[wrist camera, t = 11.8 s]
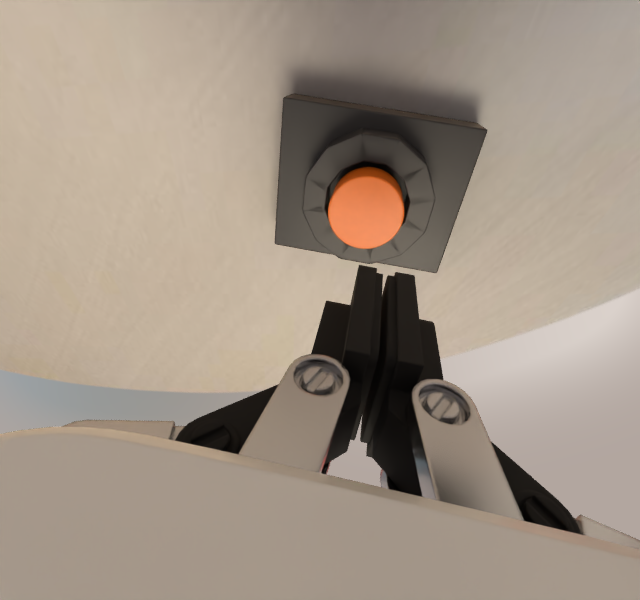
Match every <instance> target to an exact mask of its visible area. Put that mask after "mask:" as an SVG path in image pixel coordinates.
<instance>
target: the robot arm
mask: <svg viewBox="0 0 640 600" xmlns="http://www.w3.org/2000/svg"><path fill="white" fill-rule="evenodd" d="M376 272H377V268H372V267H367V266H362V265H359V268H358V272H357V277H356V281H355V286H354V291H353V296H352V300H351V305H346V304H341V303H336V302H331V301H326V303H325V307H324V310H323V314H322V318H321V321H320V325H319V328H318V332H317V335H316V339H315V343H314V346H313V350H312V353H311V354H309V355H305V356H301V357H299V358H298V359H296V360H294V361H293V363H292V364H291V365H290V366H289V368H288V369H287V371H286V373H285V375H284V376H283V378H282V380H281V381H280V383H279V384H278V385H276V386H273V387H271V388H269V389H266V390H264V391H262V392H259V393H257V394H254V395H252V396H250V397H247V398H245V399H243V400H240V401H238V402H235V403H233V404H231V405H228V406H226V407H224V408H221V409H219V410H216V411H214V412H212V413H209V414H207V415H204V416H202V417H200V418H197V419H196V420H194V421H192V422H191V423H189V424H187V426H175V422H174V421H129V420H128V421H127V420H126V421H125V420H82V421H74V422H72V423H69V424H67V425H64V426H62V427H46V428H36V429H28V430H19V431H13V432H8V433H3V434H0V600H640V540H638V539H636V538H633V537H631V536H629V535H626V534H624V533H622V532H619V531H617V530H615V529H612V528H610V527H608V526H605V525H603V524H601V523H598V522H596V521H594V520H592V519H589V518H587V517H585V516H582V515H579V516H578V517H577V518H576V519H575V518H573V517H572V515H571V514H570V512H569V511H568V510H567V509H566V508H565V507H564V506H563V505H562V504H561V503H560V502H559V501H558V500H557V499H556V498H555V497H554V496H553V495H552V494H550V493H549V492H548V491H547V490H546V489H545V488H544V487H542V486H541V485H540V484H539V483H538V482H537V481H536V480H534V479H533V478H532V477H531V476H530V475H529V474H527V473H526V472H525V471H524V470H523V469H522V468H521V467H520V466H518V465H517V464H516V463H515V462H514V461H513V460H512V459H510V458H509V457H508V456H507V455H506V454H505V453H504V452H502V451H501V450H500V449H499V448H498V447H497V446H496V445H494V444H493V443H492V442H491V441H490V439H489V436H488V434H487V431H486V429H485V427H484V424H483V422H482V420H481V417H480V415H479V413H478V410H477V408H476V406H475V404H474V402H473V401H472V399H471V398H470V397H469V396H468V395H467V394H466V393H465V392H464V391H463V390H462V389H460V388H459V387H457V386H456V385H454V384H452V383H449V382H447V381H444V380H443V374H442V368H441V362H440V356H439V350H438V344H437V338H436V331H435V326H434V323H433V322H431V321H426V320H421V319H419V314H418V304H417V295H416V285H415V277H414V275H409V274H404V273H398V272H396V273H395V275H394V276H389V275H388V276H387V280H386V283H385V287H384V291H383V294H382V281H383V274H379V273H376ZM361 417H362V425H361V438H360V440H361V442H364V443H367V456H368V457H372V458H373V459H374V460H375V461H376V462H377V463H378V465H379V466H380V467H381V468H382V470H381V474H380V482H381V487H378V486H373V485H369V484H365V483H360V482H356V481H352V480H347V479H343V478H339V477H335V476H330V475H327V472H328V469H329V466H330V462H331V461H332V460H333V459H335V458H337V457H338V456H340V455H342V454H343V453H345V452H346V451H347V449H348V446H349V442H350V439H351V440H354V439H355V437H356V434H357V430H358V427H359V424H360V420H361Z"/></svg>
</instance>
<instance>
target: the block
mask: <svg viewBox="0 0 640 600" xmlns="http://www.w3.org/2000/svg"><path fill="white" fill-rule="evenodd" d="M486 133H487V129H485V128H484V127H482V126H481V125H479V124H478V123H474V122H468V121H462V120H456V119H449V118H443V117H437V116H430V115H424V114H418V113H412V112H405V111H399V110H393V109H386V108H380V107H374V106H368V105H361V104H355V103H349V102H342V101H336V100H330V99H324V98H317V97H311V96H305V95H298V94H291V95H289V96H286V97H284V98H283V112H282V129H281V145H280V162H279V179H278V195H277V212H276V229H275V244H277V245H283V246H289V247H294V248H300V249H305V250H311V251H316V252H322V253H327V254H333V255H336V256H337V257H338V258H340V259H345V260H351V261H356V262H362V263H367V264H370V263H371V264H372V263H376V262H377V263H383V264H388V265H394V266H399V267H405V268H410V269H416V270H422V271H427V272H433V273H437V271H438V268H439V265H440V263H441V260H442V257H443V254H444V251H445V249H446V246H447V243H448V240H449V237H450V235H451V232H452V229H453V226H454V223H455V220H456V218H457V215H458V212H459V209H460V206H461V204H462V201H463V198H464V195H465V192H466V190H467V187H468V184H469V181H470V178H471V176H472V173H473V170H474V167H475V164H476V162H477V159H478V156H479V153H480V150H481V147H482V145H483V142H484V139H485V136H486ZM361 167H375V168H379V169H382V170H384V171H386V172H388V173H389V174H390V175H391V176H392V177H393V178H394V179H395V180H396V181H397V182H398V184H399V186H400V188H401V191H402V196H403V203H404V219H403V223H402V225H401V227H400V229H399V231H398V233H397V234H396V235H395V236H394V237H393V238H392V239H391V240H390V241H388V242H387V243H385V244H383V245H381V246H379V247H376V248H371V249H360V248H355V247H352V246H350V245H348V244H346V243H344V242H343V241H341V240H340V239H339V238H338V237H337V236H336V235H335V233H334V232H333V230H332V228H331V226H330V223H329V219H328V206H329V202H330V199H331V197H332V194H333V191H334V189H335V187H336V185H337V183H338V182H339V180H340V179H341V178H342V177H343V176H344V175H346V174H347V173H349V172H350V171H352V170H354V169H357V168H361Z"/></svg>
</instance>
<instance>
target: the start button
mask: <svg viewBox="0 0 640 600" xmlns="http://www.w3.org/2000/svg"><path fill="white" fill-rule="evenodd" d="M328 219H329V223H330V226H331V228H332V230H333V232H334V233H335V235H336V236H337V237H338V238H339V239H340V240H341V241H343V242H344V243H346V244H348V245H350V246H352V247H355V248H360V249H371V248H376V247H379V246H381V245H383V244H385V243H387V242H388V241H390V240H391V239H392V238H393V237H394V236H395V235H396V234H397V233H398V231H399V229H400V227H401V225H402V223H403V219H404V203H403V196H402V191H401V188H400V186H399V184H398V182H397V181H396V180H395V179H394V178H393V177H392V176H391V175H390V174H389V173H388V172H386V171H384V170H382V169H379V168H375V167H361V168H357V169H354V170H352V171H350V172H349V173H347V174H346V175H344V176H343V177H342V178H341V179H340V180H339V182H338V183H337V185H336V187H335V189H334V191H333V194H332V197H331V199H330V202H329V206H328Z"/></svg>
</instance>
